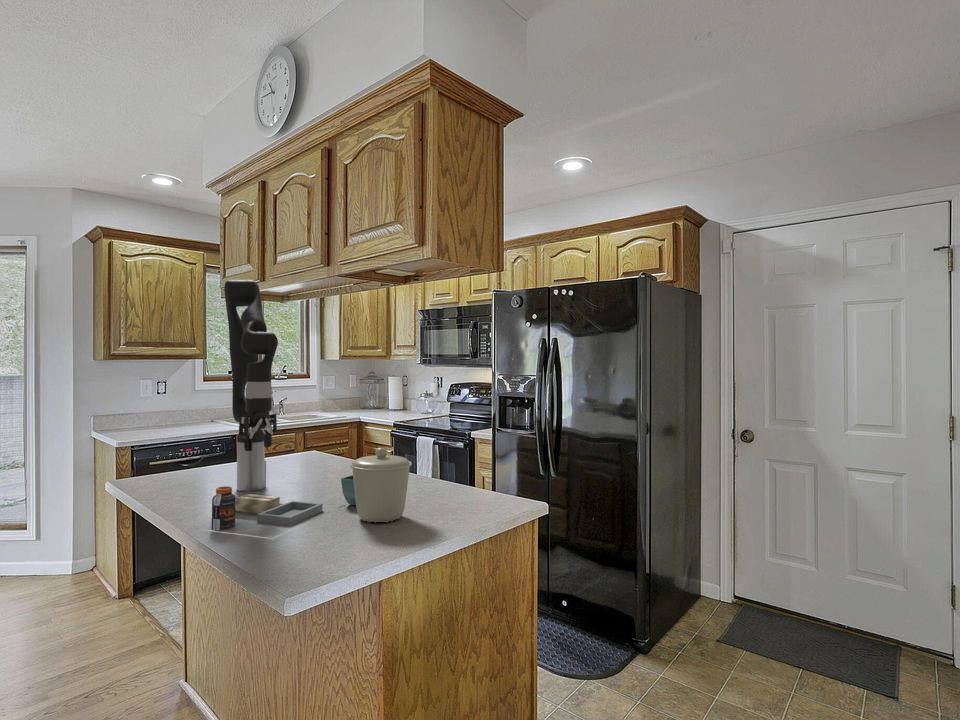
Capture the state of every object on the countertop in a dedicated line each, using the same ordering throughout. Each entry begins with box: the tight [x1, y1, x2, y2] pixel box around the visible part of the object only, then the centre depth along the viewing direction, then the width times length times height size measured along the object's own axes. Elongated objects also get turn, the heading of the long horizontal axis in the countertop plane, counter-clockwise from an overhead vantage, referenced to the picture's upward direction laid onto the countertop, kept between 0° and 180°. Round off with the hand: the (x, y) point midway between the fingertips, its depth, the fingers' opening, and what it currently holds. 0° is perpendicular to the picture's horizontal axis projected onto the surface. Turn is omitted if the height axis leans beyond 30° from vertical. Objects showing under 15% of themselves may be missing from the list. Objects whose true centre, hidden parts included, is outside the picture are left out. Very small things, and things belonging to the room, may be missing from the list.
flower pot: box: [340, 474, 356, 506], centre depth 179 cm, size 9×9×9 cm
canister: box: [349, 447, 413, 524], centre depth 164 cm, size 18×18×21 cm
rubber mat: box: [235, 503, 284, 522], centre depth 170 cm, size 18×14×1 cm
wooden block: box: [235, 493, 281, 513], centre depth 170 cm, size 12×5×4 cm, turn 72°
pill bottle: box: [211, 485, 237, 532], centre depth 153 cm, size 6×6×11 cm
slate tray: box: [256, 500, 323, 527], centre depth 164 cm, size 16×11×3 cm
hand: (258, 448), depth 170 cm, fingers open, 8 cm apart
